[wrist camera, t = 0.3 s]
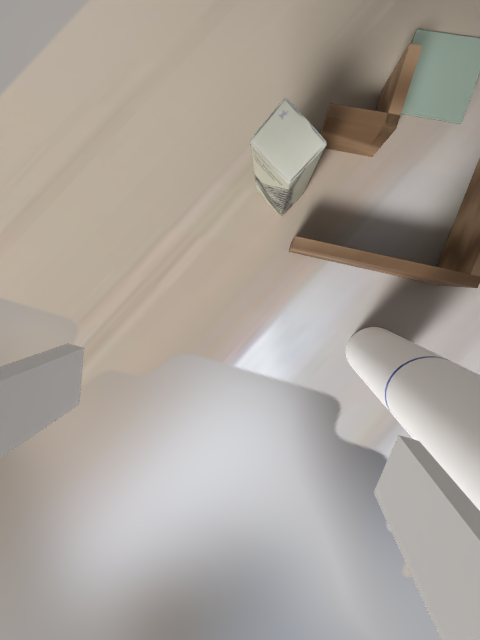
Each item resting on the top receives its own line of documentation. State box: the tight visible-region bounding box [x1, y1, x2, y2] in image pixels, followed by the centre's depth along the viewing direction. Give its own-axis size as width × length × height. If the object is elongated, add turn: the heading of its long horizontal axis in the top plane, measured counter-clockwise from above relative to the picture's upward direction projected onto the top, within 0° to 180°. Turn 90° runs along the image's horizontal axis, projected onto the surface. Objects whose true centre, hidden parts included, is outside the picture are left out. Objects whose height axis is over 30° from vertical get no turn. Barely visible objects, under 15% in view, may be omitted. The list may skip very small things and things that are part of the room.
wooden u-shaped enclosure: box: [289, 44, 480, 288], centre depth 28 cm, size 20×20×6 cm
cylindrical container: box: [346, 327, 480, 511], centre depth 22 cm, size 7×7×25 cm
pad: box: [401, 29, 480, 124], centre depth 28 cm, size 8×8×1 cm
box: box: [250, 98, 327, 216], centre depth 26 cm, size 5×4×13 cm
